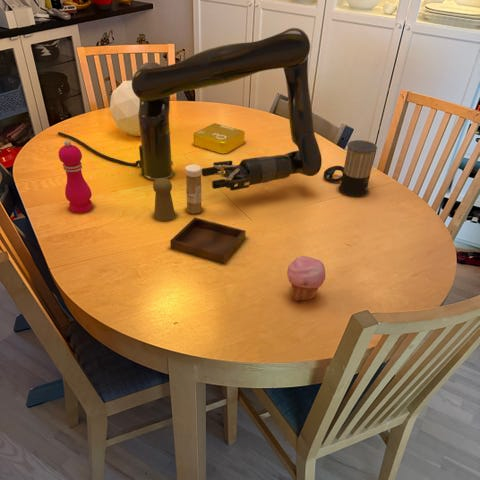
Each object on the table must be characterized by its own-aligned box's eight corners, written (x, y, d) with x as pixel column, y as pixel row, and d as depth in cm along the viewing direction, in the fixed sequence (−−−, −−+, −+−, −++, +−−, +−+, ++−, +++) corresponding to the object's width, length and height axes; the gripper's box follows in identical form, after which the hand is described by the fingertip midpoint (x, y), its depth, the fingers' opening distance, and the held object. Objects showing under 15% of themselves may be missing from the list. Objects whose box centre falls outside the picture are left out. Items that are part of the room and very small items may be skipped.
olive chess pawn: (171, 222, 133) (169, 186, 126) (151, 219, 134) (147, 183, 127) (177, 212, 138) (175, 176, 131) (158, 209, 139) (155, 174, 131)
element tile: (246, 142, 180) (246, 129, 177) (224, 155, 170) (224, 141, 167) (214, 133, 186) (214, 121, 183) (191, 145, 176) (191, 132, 173)
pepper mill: (98, 204, 140) (86, 137, 126) (85, 215, 134) (70, 147, 121) (77, 200, 141) (63, 133, 128) (63, 211, 136) (47, 142, 123)
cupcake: (283, 283, 114) (288, 248, 107) (319, 285, 114) (325, 250, 107) (285, 306, 107) (290, 271, 101) (323, 308, 107) (330, 273, 101)
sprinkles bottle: (183, 210, 139) (181, 167, 130) (194, 205, 141) (193, 162, 132) (194, 216, 137) (193, 172, 128) (205, 210, 139) (204, 167, 130)
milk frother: (364, 199, 148) (375, 153, 138) (316, 190, 152) (323, 144, 142) (371, 181, 158) (381, 137, 148) (325, 173, 162) (332, 129, 152)
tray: (170, 248, 123) (170, 240, 122) (195, 225, 133) (194, 217, 131) (223, 264, 119) (224, 255, 117) (245, 238, 128) (245, 230, 127)
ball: (131, 147, 190) (120, 96, 188) (175, 133, 184) (165, 80, 181) (105, 137, 172) (93, 81, 170) (153, 122, 166) (141, 63, 164)
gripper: (248, 149, 142) (198, 156, 136) (269, 168, 132) (216, 176, 127) (247, 172, 147) (199, 180, 141) (267, 192, 137) (216, 201, 132)
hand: (207, 178), depth 134 cm, fingers open, 8 cm apart
